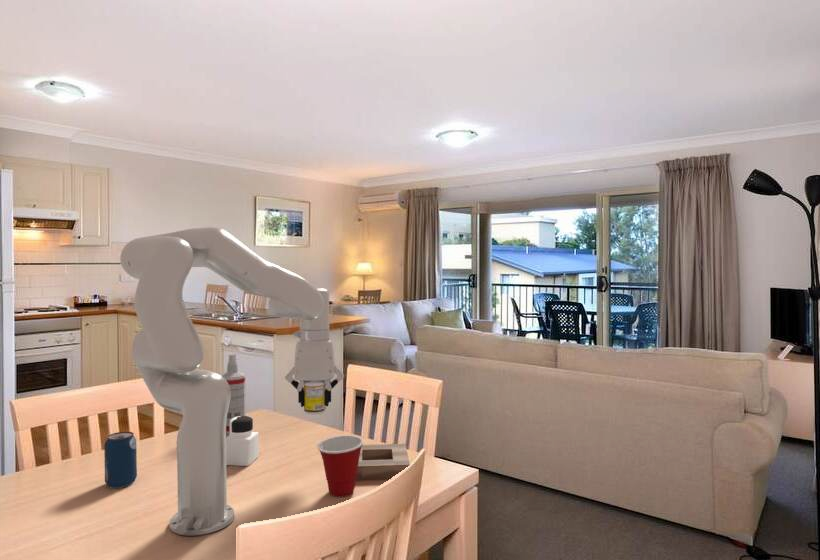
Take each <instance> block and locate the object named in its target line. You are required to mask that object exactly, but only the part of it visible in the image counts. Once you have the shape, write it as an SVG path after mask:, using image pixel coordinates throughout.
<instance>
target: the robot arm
mask: <svg viewBox="0 0 820 560" xmlns="http://www.w3.org/2000/svg"><path fill="white" fill-rule="evenodd" d="M119 259H120V265H121V267H122V268H123V270H124V272H125V273H126V274H127V275H129V276H130V277H132V278H134V279H137V280H138V282H137V286H136V290H135V294H134V308H135V313H136V317H137V318H138V321H139V323H140V326H141V328H140V329H139V330H138V331H137V332H136V333H135V335H134V337H133V339H132V343H131V357H132V360H133V362H134V366H135V367H136V368H137V370H138V373H139V374H140V376H141V378H142V379H143V381H144V383H145V386H146V387H147V389H148V391H149V393H150V394H151V396H152V397H153V399H154V400H155V402H156V403H157V404H158V405H159V406H160V407H162V408H163V409H165V410H168V411H171V412H175V413H179V414H182V421H181V423H180V425H179V428H178V432H177V436H176V453H177V454H176V456H177V457H176V458H177V460H176V461H177V464H176V466H177V467H176V468H177V475H176V476H177V512H176V513H174V514H173V515H172V517H171V518H170V519H169V529H170V530H171V531H172V532H173V533H175V534H177V535H178V536H179V535H180V536H181V535H182V536H187V537H189V536H190V537H191V536H193V537H194V536H201V535H208V534H211V533H214V532H217V531H219V530H222V529H224V528H225V527H227V526H229V525H230V524H231V523H232V522H233V521H234V519H235V509H234V508H233V507H232V506H230V505H228V504H227V502H228V501H227V499H228V498H227V491H228V490H227V465H226V437H227V434H226V421H227V413H228V408H229V403H230V387H229V384H228V382H227V381H226V380H225V379H224V378H223V377H222V376H221V375H222V374H219V373H217V372H215V371H212V370H208V369H201V368H199V366H201V365H202V363H203V361H204V357H205V348H204V344H203V342H202V339H201V338H200V336H199V334H198V331H197V329H196V327H195V324H194V323H193V320H192V319H191V317H190V314H189V313H188V310H187V308H186V305H185V302H184V298H183V297H184V296H183V290H184V286H185V284H186V283H185V282H186V279H187V277H188V276H189V274H190V272H191V269H192V268H207V269H209V270H211V271H212V272H214V273H215V274H217V275H219V276H220V277H221V278H222V279H224V280H226V281H227V282H228V283H230V284H232V285H234V286H235V287H236V288H238V289H239V290H240V291H243V292H246V293H248V294H251V295H255V296H259V297H263V298H264V297H265V298H268V299H269V300H268V306H269V307H268V308H269V310H270V312H271V313H272V314H273V315H274V316H276V317H277V318H281V319H288V320H289V319H290V320H295V319H297V320H299V330H298V331H294V332H293V336H294V338H296V337H297V338H298V339H299V340H298V341H296V344H295V352H294V363H293V367H292V368H291V369H290V370H289V372H288V373H287V374H286V375H285V377H284V379H285V380H286V381H287V382H288V383H290V384H291V386H293V388H294V389H296V390H297V393H298V396H297V397H298V398H297V399H298V400H297V401H298V404H300V407H301V408H304V382H305V381H324V382H325V384H326V391H325V406H326V407H328V406H329V403H332V390H333V389H334V388H335V387H336V386H337V385H338V383H340V382H341V381H342V380H343V379H344V378H345V374H344V373H343V371H341V369H339V367H338V366H336V363H335V354H334V353H335V351H334V345H333V341H332V340H330V292H329V291H328V289H326V288H322V287H320V288H319V287H318V288H317V287H315V286H314V284H311V283H310V282H309V281H307V279H305V278H304V277H301V276H300V275H298V274H296V273H294V272H292V271H290V270H287V269H285V268H283V267H281V266H279V265H278V264H277V265H276V264H275V263H272V262H270V261H267V260H265V259H264V258H262V257H261V256H259V255H258V254H257V253H256V252H254V251H253V250H252V249H250V248H249V247H247V246H246V245H245V244H243V242H241V241H240V240H238V239H237V238H236V237H235V236H233V235H232V234H231V233H229V232H228V231H226V230H225V229H222V228H221V227H220V228H219V227H214V226H213V227H211V226H210V227H196V228H189V229H188V228H187V229H183V230H178V231H172V232H166V233H159V234H156V235H155V234H154V235H149V236H144V237H137V238H134V239H132V240H130V241H129V242H127V243H126V244H125V245H124V246H123V248H122V249H121V252H120V257H119ZM335 374H336V377H335ZM293 376H294V377H293ZM334 377H335V378H334ZM333 378H334V379H333ZM332 379H333V380H332ZM331 380H332V381H331Z"/></svg>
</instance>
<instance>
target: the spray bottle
mask: <svg viewBox="0 0 820 560" xmlns="http://www.w3.org/2000/svg"><path fill="white" fill-rule="evenodd" d="M226 368H227V369H226V372H225V373H223V374H220V375H221V376H222V377H223V378H224V379H225V380H226V381H227V382H228V384H229V387H230V403H229V408H228V413H227V421H226V435H230V420H231V419H232V418H234V417H238V416H247V415H246V410H247V409H246V373H243V372H241V371H239V365H238V361H237V353H231V354H228V361H227V367H226Z"/></svg>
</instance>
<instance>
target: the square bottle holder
mask: <svg viewBox="0 0 820 560" xmlns="http://www.w3.org/2000/svg"><path fill="white" fill-rule="evenodd" d="M408 455H409V454H408V450H407V446H406V443H383V444H382V443H381V444H380V443H379V444H362V446H361V451H360V456H359V463H358V470H357V477H356V481H370V480H371V481H373V480H375V481H376V480H378V481H379V480H391V479H390V478H392V477H393V476H395V475H396V474H398V473H399V472H401V471H402V470H404V469H405V468H406V467H408V466H409V465H410V466H411V463H410V459H409V456H408Z"/></svg>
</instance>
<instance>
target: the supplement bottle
mask: <svg viewBox="0 0 820 560" xmlns="http://www.w3.org/2000/svg"><path fill="white" fill-rule="evenodd" d="M303 387H304V406H303V410H304V413H305V414H306V415H312V416H316V415H321V414H324V413H325V412H326V411H327V410H326V409H327V408H326V407H327V406H325V391H326V384H325V382H324V381H305V382H304V385H303Z"/></svg>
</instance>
